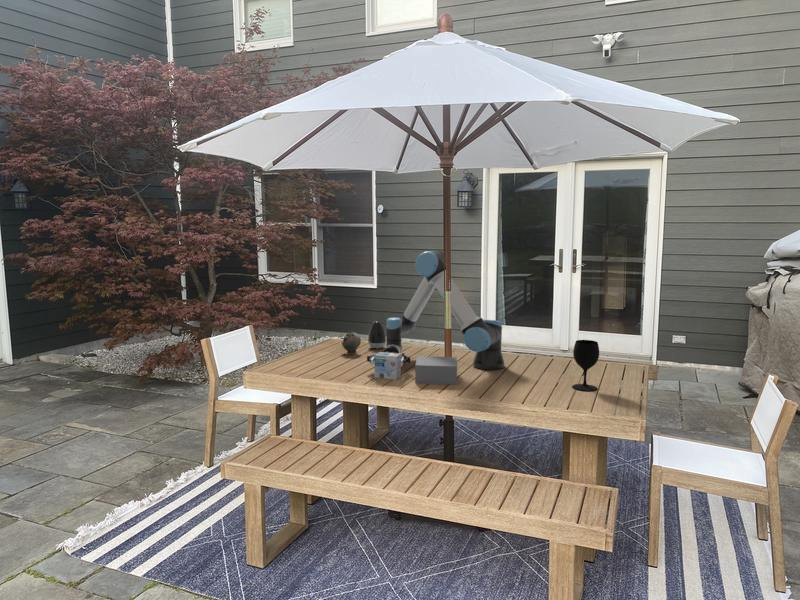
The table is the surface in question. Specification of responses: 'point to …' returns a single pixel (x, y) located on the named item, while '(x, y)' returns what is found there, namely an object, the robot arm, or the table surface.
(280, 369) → the table surface
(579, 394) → the table surface
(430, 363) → the grey block
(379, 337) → the black tapered dome
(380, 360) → the light bulb box
